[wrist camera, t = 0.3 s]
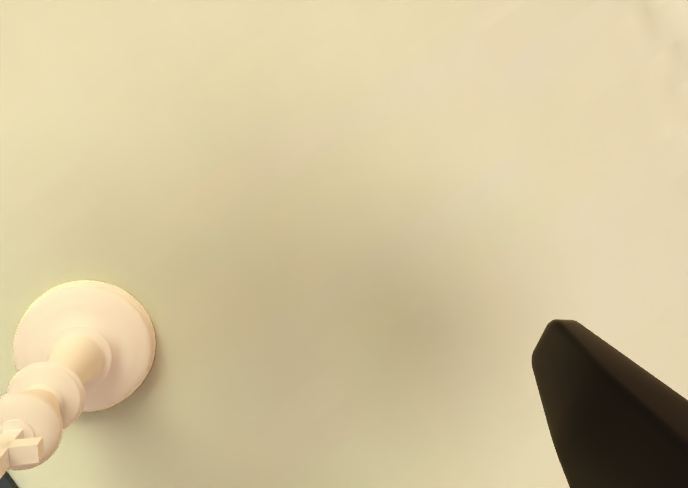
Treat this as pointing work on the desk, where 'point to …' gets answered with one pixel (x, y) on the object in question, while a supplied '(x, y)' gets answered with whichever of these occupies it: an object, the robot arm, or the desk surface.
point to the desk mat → (7, 482)
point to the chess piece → (71, 365)
